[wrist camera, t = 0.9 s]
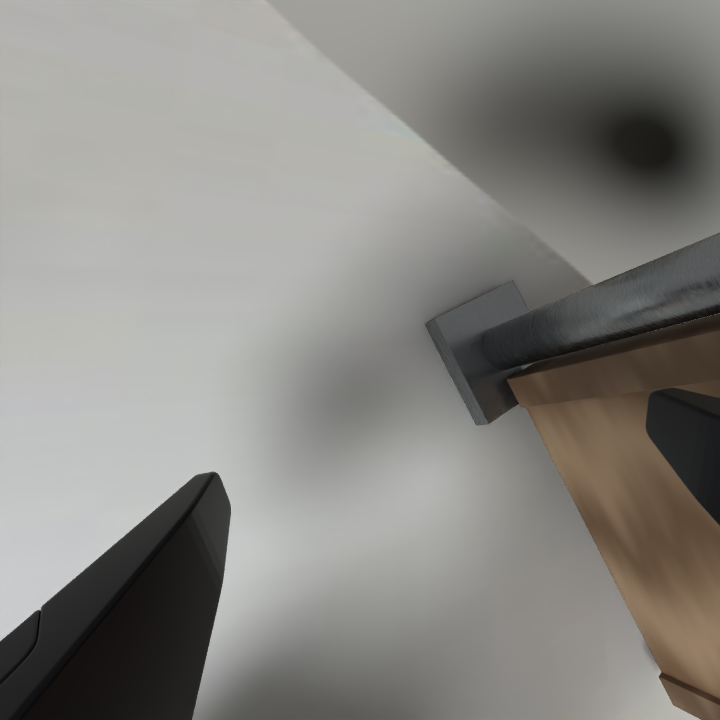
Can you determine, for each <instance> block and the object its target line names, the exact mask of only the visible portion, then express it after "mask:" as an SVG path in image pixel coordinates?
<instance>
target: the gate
mask: <svg viewBox="0 0 720 720" xmlns="http://www.w3.org/2000/svg"><path fill="white" fill-rule="evenodd" d="M507 381H508V383H509V385H510V387H511V389H512V391H513V393H514V395H515V397H516V399H517V401H518V403H519V405H520V407H521V408H523V407H526V408H527V410H528V412H529V414H530V416H531V418H532V420H533V422H534V424H535V426H536V428H537V430H538V432H539V434H540V436H541V438H542V440H543V442H544V444H545V446H546V447H547V449H548V451H549V453H550V455H551V457H552V459H553V461H554V463H555V465H556V467H557V469H558V471H559V473H560V475H561V477H562V479H563V481H564V483H565V485H566V487H567V488H568V490H569V492H570V494H571V496H572V498H573V500H574V502H575V504H576V506H577V508H578V510H579V512H580V514H581V516H582V518H583V520H584V522H585V524H586V526H587V528H588V529H589V531H590V533H591V535H592V537H593V539H594V541H595V543H596V545H597V547H598V549H599V551H600V553H601V555H602V557H603V559H604V561H605V563H606V565H607V567H608V568H609V570H610V572H611V574H612V576H613V578H614V580H615V582H616V584H617V586H618V588H619V590H620V592H621V594H622V596H623V598H624V600H625V602H626V604H627V606H628V608H629V609H630V611H631V613H632V615H633V617H634V619H635V621H636V623H637V625H638V627H639V629H640V631H641V633H642V635H643V637H644V639H645V641H646V643H647V645H648V647H649V649H650V650H651V652H652V654H653V656H654V658H655V660H656V662H657V664H658V666H659V668H660V670H661V672H662V673H661V674H660V675H659V678H660V680H661V682H662V684H663V686H664V688H665V690H666V692H667V694H668V696H669V698H670V700H671V702H672V704H673V705H674V706H676V707H678V708H680V709H682V710H684V711H686V712H688V713H690V714H691V715H693V716H695V717H697V718H699V719H701V720H720V526H719V525H718V524H717V522H716V521H715V520H714V519H713V518H712V517H711V516H710V515H709V514H708V513H707V511H706V510H705V509H704V508H703V507H702V506H701V505H700V503H699V502H698V501H697V500H696V499H695V498H694V496H693V495H692V494H691V493H690V491H689V490H688V489H687V487H686V486H685V485H684V483H683V482H682V481H681V479H680V478H679V477H678V475H677V474H676V473H675V471H674V470H673V469H672V467H671V466H670V465H669V463H668V462H667V461H666V459H665V458H664V457H663V455H662V454H661V453H660V451H659V450H658V449H657V447H656V446H655V445H654V443H653V442H652V441H651V439H650V438H649V436H648V434H647V432H646V427H645V423H646V414H647V405H648V398H649V395H650V393H652V392H653V391H656V390H661V389H666V388H679V389H683V390H687V391H692V392H696V393H701V394H705V395H709V396H714V397H718V398H720V314H716V315H712V316H708V317H705V318H701V319H697V320H693V321H690V322H686V323H682V324H678V325H674V326H671V327H667V328H663V329H659V330H656V331H652V332H648V333H644V334H641V335H637V336H633V337H629V338H625V339H622V340H618V341H614V342H610V343H607V344H603V345H599V346H595V347H591V348H588V349H584V350H580V351H576V352H573V353H569V354H565V355H561V356H558V357H554V358H550V359H546V360H542V361H539V362H535V363H533V364H531V365H530V366H528V367H527V368H525V369H523V370H522V371H520V372H519V373H517V374H516V375H514V376H512V377H511V378H509V379H508V380H507Z"/></svg>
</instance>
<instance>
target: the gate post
mask: <svg viewBox="0 0 720 720" xmlns="http://www.w3.org/2000/svg"><path fill="white" fill-rule="evenodd" d="M718 313H720V233H717V234H715V235H713V236H711V237H708V238H705V239H703V240H701V241H698V242H696V243H693V244H691V245H689V246H686V247H684V248H682V249H679V250H677V251H674V252H672V253H670V254H667V255H665V256H662V257H660V258H658V259H655V260H653V261H650V262H648V263H646V264H643V265H641V266H638V267H636V268H634V269H631V270H629V271H626V272H624V273H622V274H619V275H617V276H615V277H612V278H610V279H608V280H605V281H603V282H600V283H598V284H595V285H593V286H591V287H588V288H586V289H583V290H581V291H579V292H576V293H574V294H571V295H569V296H567V297H564V298H562V299H559V300H557V301H555V302H552V303H550V304H547V305H545V306H543V307H540V308H538V309H535V310H533V311H531V312H529V310H528V308H527V306H526V305H525V303H524V301H523V299H522V297H521V295H520V293H519V291H518V289H517V287H516V285H515V283H514V281H513V280H512V281H510V282H508V283H506V284H504V285H502V286H500V287H498V288H496V289H494V290H492V291H490V292H488V293H486V294H484V295H482V296H480V297H477V298H475V299H473V300H471V301H469V302H467V303H465V304H463V305H461V306H459V307H457V308H455V309H453V310H451V311H449V312H447V313H445V314H443V315H441V316H439V317H437V318H435V319H433V320H431V321H429V322H428V323H426V324H425V325H426V327H427V329H428V331H429V333H430V335H431V337H432V339H433V341H434V343H435V345H436V347H437V349H438V351H439V353H440V355H441V357H442V359H443V361H444V363H445V365H446V367H447V368H448V370H449V372H450V374H451V376H452V378H453V380H454V382H455V384H456V386H457V388H458V390H459V392H460V394H461V396H462V398H463V400H464V402H465V404H466V406H467V408H468V410H469V412H470V414H471V416H472V418H473V419H474V421H475V423H476V425H483V424H489V423H491V422H492V421H494V420H495V419H497V418H498V417H500V416H501V415H502V414H504V413H505V412H507V411H508V410H510V409H511V408H513V407H514V406H516V405H517V404H519V403H518V401H517V399H516V397H515V395H514V393H513V391H512V389H511V387H510V385H509V383H508V381H507V380H508V379H509V378H511V377H512V376H514V375H516V374H517V373H519V372H520V371H522V370H523V369H525V368H527V367H528V366H530V365H531V364H533V363H535V362H539V361H542V360H546V359H550V358H553V357H557V356H560V355H564V354H568V353H572V352H575V351H579V350H583V349H587V348H590V347H594V346H598V345H602V344H606V343H609V342H613V341H617V340H621V339H624V338H628V337H632V336H636V335H639V334H643V333H647V332H651V331H654V330H658V329H662V328H666V327H669V326H673V325H677V324H681V323H684V322H688V321H692V320H696V319H700V318H703V317H707V316H711V315H715V314H718Z"/></svg>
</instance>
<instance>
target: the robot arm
mask: <svg viewBox="0 0 720 720" xmlns="http://www.w3.org/2000/svg"><path fill="white" fill-rule="evenodd" d="M645 427H646V432H647V434H648V436H649V438H650V439H651V441H652V442H653V443H654V445H655V446H656V447H657V449H658V450H659V451H660V453H661V454H662V455H663V457H664V458H665V459H666V461H667V462H668V463H669V465H670V466H671V467H672V469H673V470H674V471H675V473H676V474H677V475H678V477H679V478H680V479H681V481H682V482H683V483H684V485H685V486H686V487H687V489H688V490H689V491H690V493H691V494H692V495H693V496H694V498H695V499H696V500H697V501H698V502H699V503H700V505H701V506H702V507H703V508H704V509H705V510H706V511H707V513H708V514H709V515H710V516H711V517H712V518H713V519H714V520H715V521H716V522H717V524H718V525H719V526H720V398H718V397H714V396H709V395H705V394H701V393H696V392H692V391H687V390H683V389H679V388H666V389H661V390H656V391H653V392H652V393H650V395H649V398H648V405H647V414H646V423H645ZM230 517H231V505H230V501H229V499H228V496H227V493H226V491H225V488H224V486H223V483H222V481H221V478H220V476H219V475H218V473H216V472H209V473H203V474H198V475H196V476H194V477H193V478H192V479H191V480H190V481H189V482H187V483H186V484H185V485H184V486H183V487H181V488H180V489H179V490H178V491H177V492H176V493H174V494H173V495H172V496H171V497H170V498H169V499H167V500H166V501H165V502H164V503H163V504H161V505H160V506H159V507H158V508H157V509H156V510H154V511H153V512H152V513H151V514H150V515H149V516H147V517H146V518H145V519H144V520H143V521H142V522H140V523H139V524H138V525H137V526H136V527H134V528H133V529H132V530H131V531H130V532H129V533H127V534H126V535H125V536H124V537H123V538H122V539H120V540H119V541H118V542H117V543H116V544H114V545H113V546H112V547H111V548H110V549H109V550H107V551H106V552H105V553H104V554H103V555H102V556H100V557H99V558H98V559H97V560H96V561H94V562H93V563H92V564H91V565H90V566H89V567H87V568H86V569H85V570H84V571H83V572H82V573H80V574H79V575H78V576H77V577H76V578H75V579H73V580H72V581H71V582H70V583H69V584H67V585H66V586H65V587H64V588H63V589H62V590H60V591H59V592H58V593H57V594H56V595H55V596H53V597H52V598H51V599H50V600H49V601H47V602H46V603H45V604H44V605H43V606H42V607H41V611H40V610H37V611H36V612H34V613H33V614H32V615H31V616H30V617H29V618H27V619H26V620H25V621H24V622H23V623H22V624H20V625H19V626H18V627H17V628H16V629H15V630H13V631H12V632H11V633H10V634H8V635H7V636H6V637H5V638H4V639H2V640H1V641H0V720H192V717H193V713H194V708H195V704H196V700H197V695H198V691H199V686H200V682H201V678H202V673H203V669H204V664H205V660H206V656H207V651H208V647H209V642H210V638H211V634H212V629H213V625H214V620H215V616H216V612H217V607H218V603H219V598H220V594H221V589H222V584H223V577H224V569H225V561H226V552H227V543H228V534H229V526H230Z"/></svg>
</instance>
